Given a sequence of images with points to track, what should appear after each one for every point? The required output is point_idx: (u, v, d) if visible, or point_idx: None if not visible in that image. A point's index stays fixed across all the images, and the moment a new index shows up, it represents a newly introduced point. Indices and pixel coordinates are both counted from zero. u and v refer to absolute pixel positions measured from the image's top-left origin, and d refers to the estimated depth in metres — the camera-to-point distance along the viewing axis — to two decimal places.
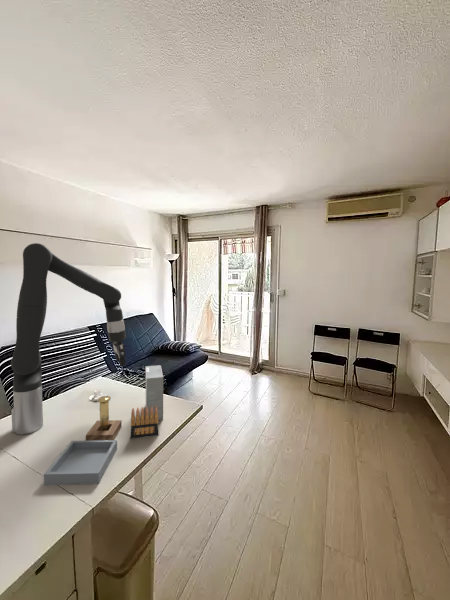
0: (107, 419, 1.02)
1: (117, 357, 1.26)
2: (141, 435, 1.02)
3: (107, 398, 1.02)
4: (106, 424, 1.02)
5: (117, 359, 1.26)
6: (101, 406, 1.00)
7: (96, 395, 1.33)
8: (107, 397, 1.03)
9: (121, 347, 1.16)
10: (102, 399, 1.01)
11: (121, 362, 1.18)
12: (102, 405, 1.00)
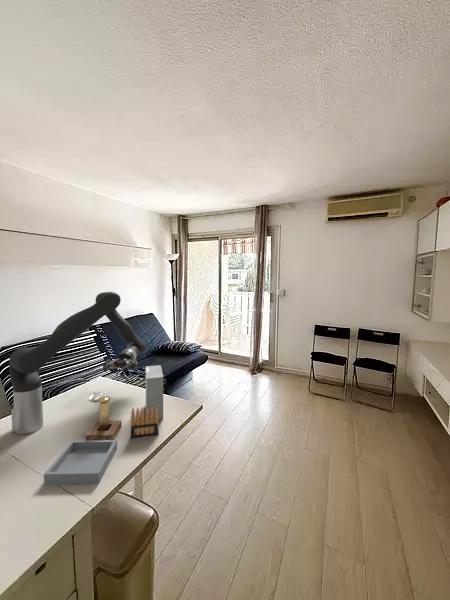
0: (107, 419, 1.02)
1: (107, 367, 1.14)
2: (141, 435, 1.02)
3: (107, 398, 1.02)
4: (106, 424, 1.02)
5: (106, 367, 1.13)
6: (101, 406, 1.00)
7: (96, 395, 1.33)
8: (107, 397, 1.03)
9: (136, 362, 1.22)
10: (102, 399, 1.00)
11: (128, 367, 1.15)
12: (102, 405, 1.00)
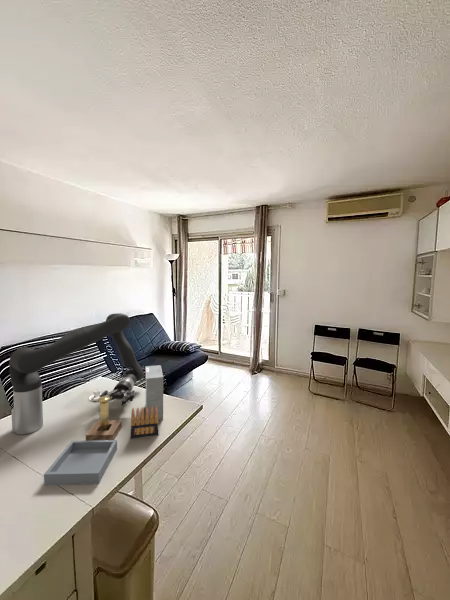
0: (107, 419, 1.02)
1: None
2: (141, 435, 1.02)
3: (107, 398, 1.02)
4: (106, 424, 1.02)
5: None
6: (101, 406, 1.00)
7: (96, 395, 1.32)
8: (107, 397, 1.03)
9: (134, 393, 1.20)
10: (102, 399, 1.01)
11: (126, 400, 1.13)
12: (102, 405, 1.00)
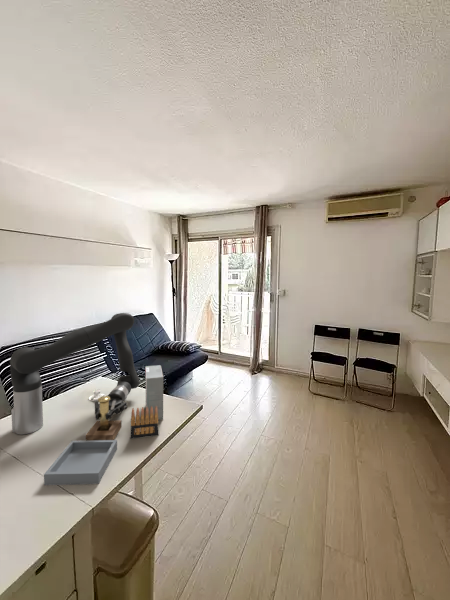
0: None
1: (99, 413, 1.01)
2: (141, 435, 1.02)
3: (107, 398, 1.02)
4: (106, 424, 1.02)
5: (98, 415, 1.00)
6: (101, 406, 1.00)
7: (95, 395, 1.32)
8: (107, 397, 1.03)
9: (125, 406, 1.09)
10: (102, 399, 1.00)
11: (111, 413, 1.02)
12: (102, 405, 1.00)
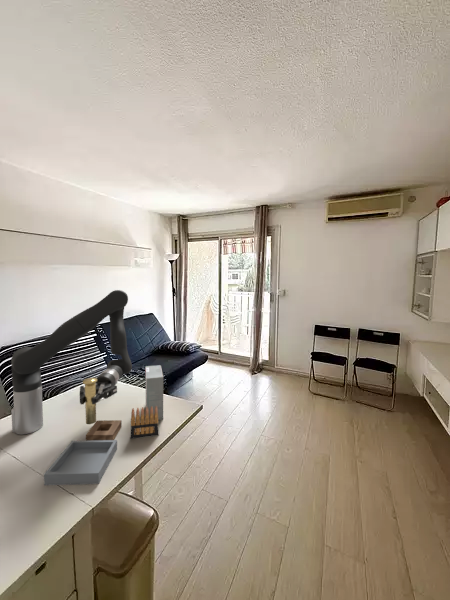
0: (94, 404, 0.89)
1: (84, 398, 0.88)
2: (141, 435, 1.02)
3: (94, 380, 0.89)
4: (93, 410, 0.88)
5: (83, 399, 0.87)
6: (86, 389, 0.87)
7: None
8: (94, 379, 0.89)
9: (115, 390, 0.96)
10: (88, 381, 0.87)
11: (98, 397, 0.89)
12: (88, 387, 0.87)
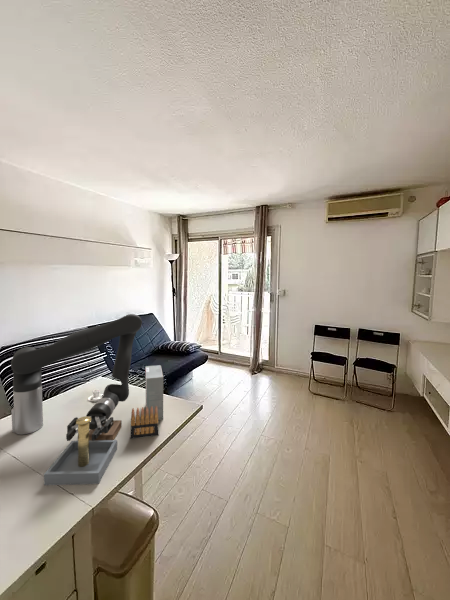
0: (87, 445, 0.85)
1: (71, 433, 0.84)
2: (141, 435, 1.02)
3: (87, 419, 0.85)
4: (85, 451, 0.84)
5: (70, 435, 0.83)
6: (80, 429, 0.83)
7: (95, 395, 1.32)
8: (87, 418, 0.86)
9: (112, 422, 0.93)
10: (81, 421, 0.83)
11: (98, 432, 0.85)
12: (81, 428, 0.83)
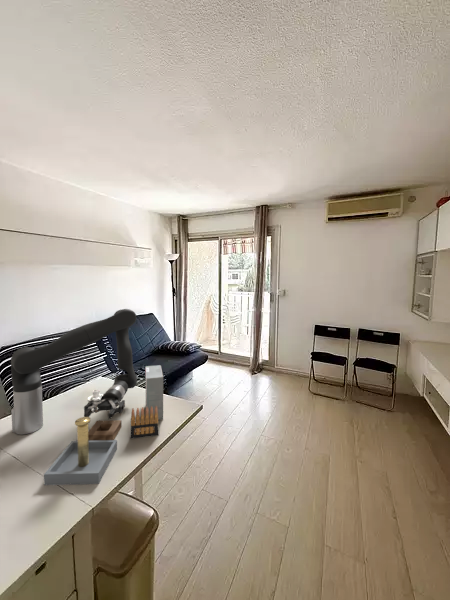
0: (86, 445, 0.85)
1: (88, 412, 0.97)
2: (141, 435, 1.02)
3: (86, 420, 0.84)
4: (85, 451, 0.84)
5: (87, 414, 0.96)
6: (79, 430, 0.83)
7: (94, 396, 1.32)
8: (87, 419, 0.85)
9: (124, 404, 1.06)
10: (80, 422, 0.83)
11: (113, 412, 0.98)
12: (80, 428, 0.83)
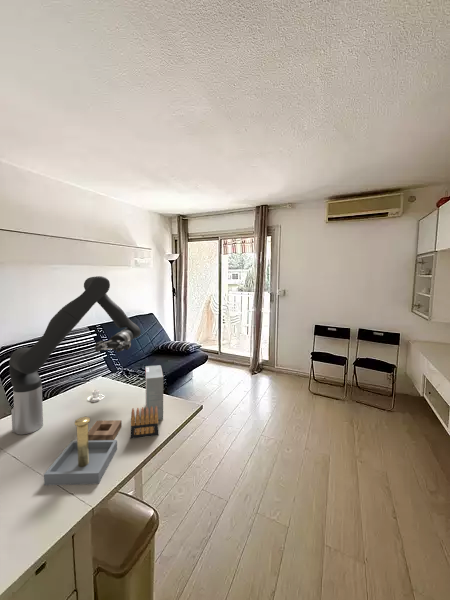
0: (86, 445, 0.84)
1: (99, 347, 1.11)
2: (141, 435, 1.02)
3: (86, 420, 0.84)
4: (85, 451, 0.84)
5: (98, 347, 1.10)
6: (78, 430, 0.83)
7: (94, 396, 1.32)
8: (86, 419, 0.85)
9: (130, 344, 1.19)
10: (79, 422, 0.83)
11: (121, 347, 1.11)
12: (80, 429, 0.83)
